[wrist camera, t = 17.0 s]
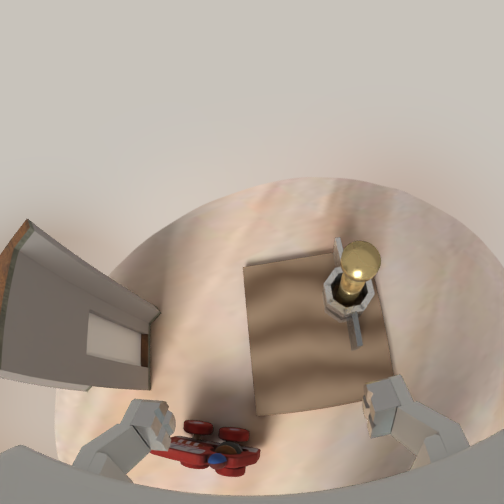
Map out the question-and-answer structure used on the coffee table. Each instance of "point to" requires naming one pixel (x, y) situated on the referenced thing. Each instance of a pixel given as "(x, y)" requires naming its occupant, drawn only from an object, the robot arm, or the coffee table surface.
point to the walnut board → (308, 339)
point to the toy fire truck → (212, 449)
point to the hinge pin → (356, 270)
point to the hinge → (340, 311)
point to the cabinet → (68, 320)
